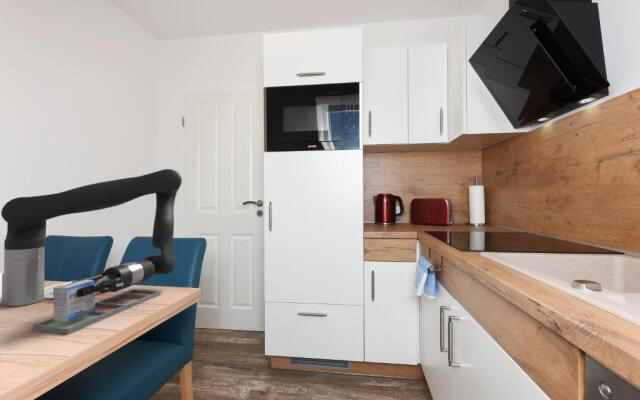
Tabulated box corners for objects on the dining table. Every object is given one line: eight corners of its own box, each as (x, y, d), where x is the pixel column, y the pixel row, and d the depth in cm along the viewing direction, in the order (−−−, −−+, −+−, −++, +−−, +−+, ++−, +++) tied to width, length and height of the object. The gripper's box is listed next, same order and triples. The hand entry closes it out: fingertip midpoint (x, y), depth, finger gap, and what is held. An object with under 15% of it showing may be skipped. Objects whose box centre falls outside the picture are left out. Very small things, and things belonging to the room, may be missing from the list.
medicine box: (67, 322, 78) (66, 288, 78) (52, 321, 79) (52, 287, 78) (95, 311, 85) (95, 280, 85) (82, 309, 86) (82, 279, 86)
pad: (37, 329, 78) (37, 327, 78) (77, 313, 88) (77, 312, 88) (68, 332, 76) (68, 331, 76) (106, 316, 86) (106, 315, 86)
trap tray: (32, 329, 77) (32, 325, 77) (133, 292, 108) (133, 288, 108) (68, 334, 75) (68, 329, 75) (160, 294, 106) (160, 291, 106)
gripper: (104, 263, 99) (48, 277, 82) (143, 265, 96) (92, 280, 79) (104, 286, 99) (48, 305, 82) (143, 289, 96) (92, 309, 79)
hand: (70, 292), depth 81 cm, fingers closed on medicine box, 4 cm apart
